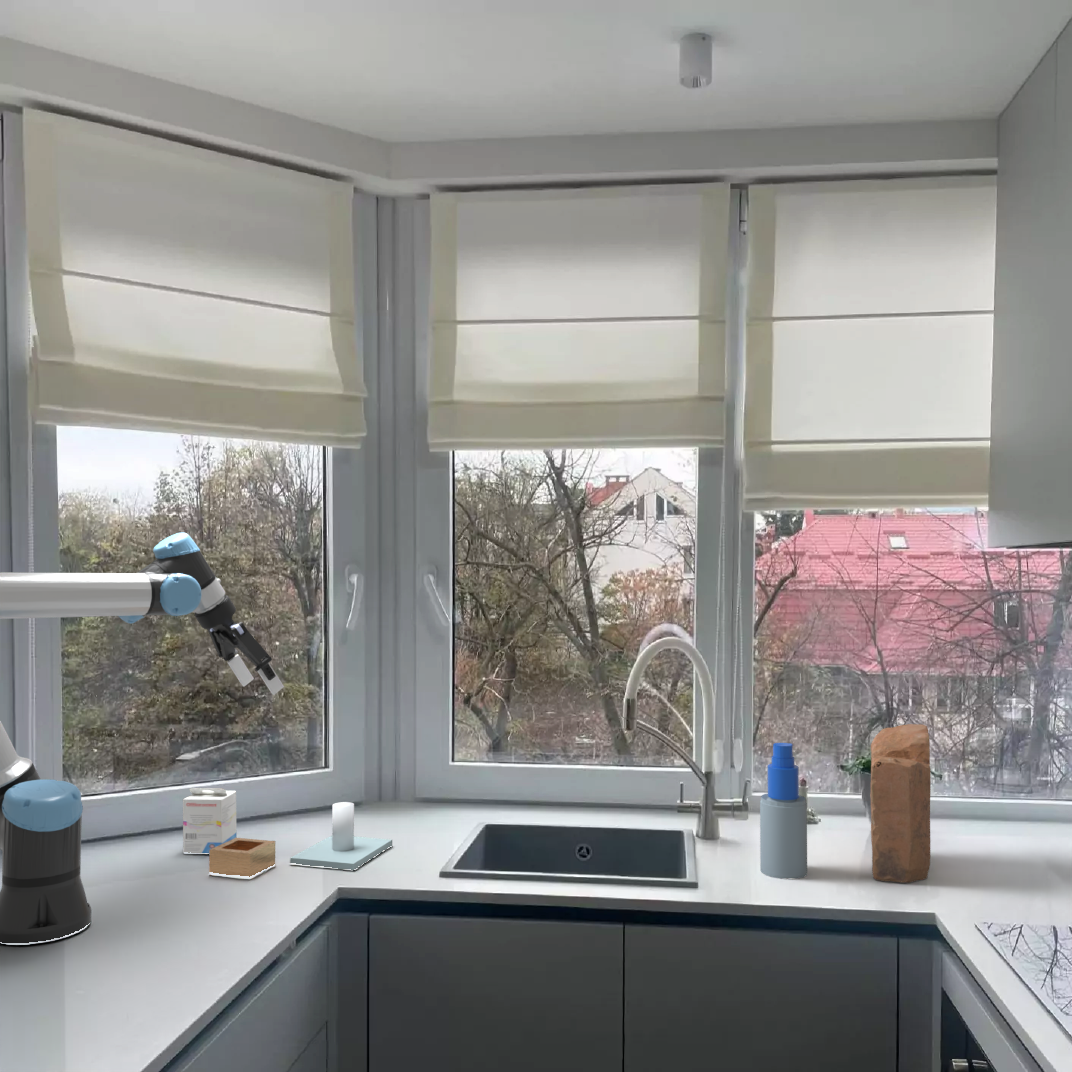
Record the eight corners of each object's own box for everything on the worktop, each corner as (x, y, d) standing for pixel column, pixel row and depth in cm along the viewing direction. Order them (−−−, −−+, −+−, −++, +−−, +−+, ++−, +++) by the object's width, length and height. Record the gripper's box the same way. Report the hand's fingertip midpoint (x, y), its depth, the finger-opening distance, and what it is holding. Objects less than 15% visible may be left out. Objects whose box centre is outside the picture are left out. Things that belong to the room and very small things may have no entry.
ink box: (237, 844, 214) (238, 782, 214) (221, 856, 205) (222, 790, 206) (199, 843, 214) (199, 781, 215) (181, 855, 206) (182, 790, 207)
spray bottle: (805, 866, 198) (804, 740, 199) (808, 880, 190) (807, 748, 190) (760, 863, 200) (759, 739, 201) (761, 877, 191) (760, 747, 192)
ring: (249, 880, 190) (250, 853, 190) (209, 875, 192) (209, 849, 192) (275, 866, 198) (275, 841, 198) (235, 862, 201) (236, 837, 201)
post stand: (353, 871, 195) (353, 817, 195) (290, 865, 199) (290, 812, 199) (392, 846, 212) (392, 797, 212) (333, 841, 216) (333, 792, 216)
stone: (935, 888, 184) (933, 735, 186) (871, 882, 188) (869, 732, 190) (928, 860, 205) (926, 722, 207) (870, 855, 208) (869, 720, 210)
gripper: (252, 596, 192) (305, 682, 200) (199, 589, 211) (250, 668, 219) (221, 619, 188) (277, 706, 196) (170, 610, 207) (222, 690, 215)
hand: (263, 686), depth 207 cm, fingers open, 13 cm apart
